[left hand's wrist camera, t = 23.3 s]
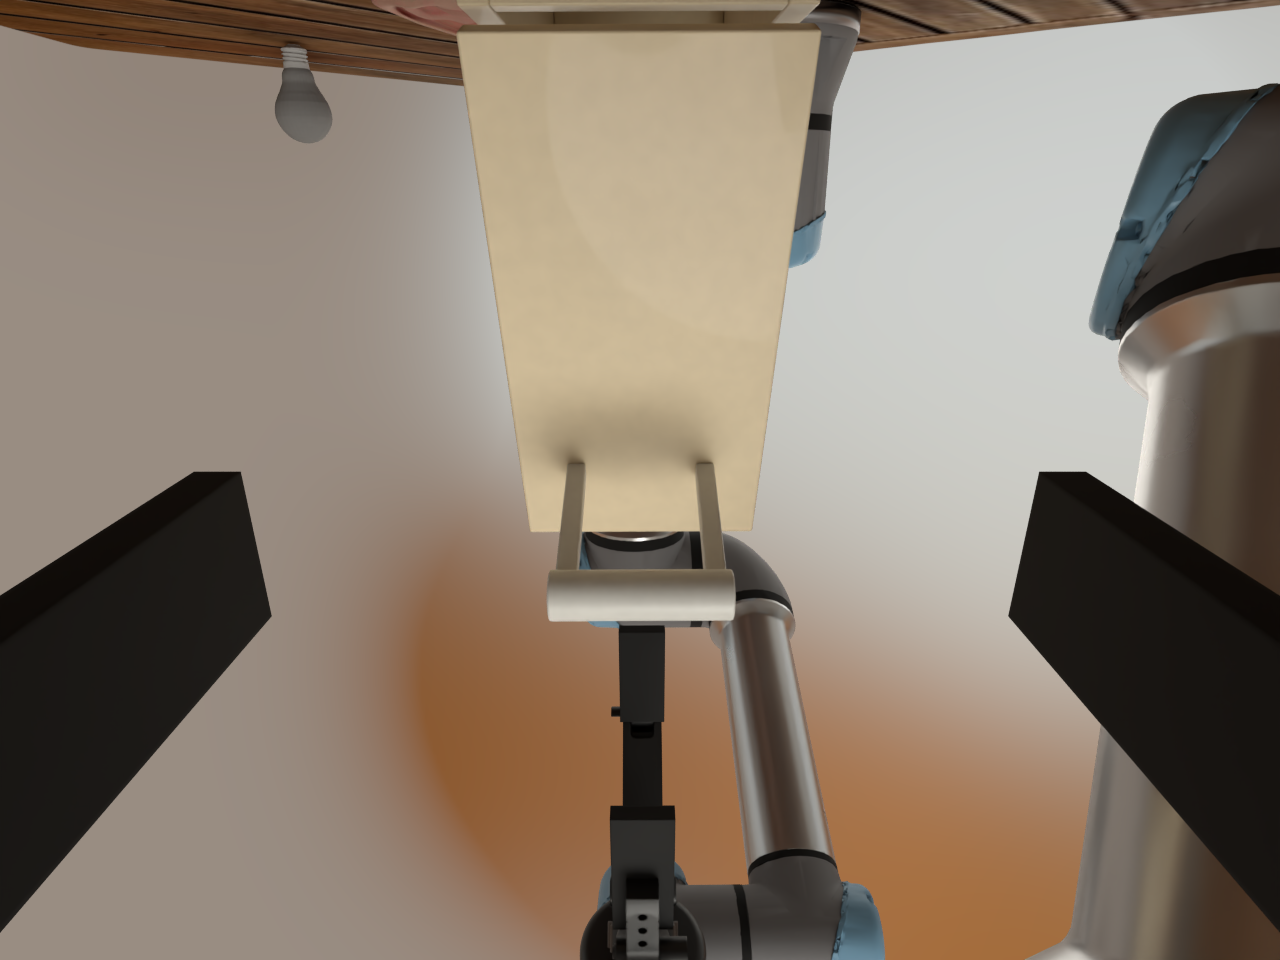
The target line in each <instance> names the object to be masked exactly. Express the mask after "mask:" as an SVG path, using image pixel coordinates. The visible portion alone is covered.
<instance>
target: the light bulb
mask: <svg viewBox="0 0 1280 960" xmlns="http://www.w3.org/2000/svg"><path fill="white" fill-rule="evenodd" d="M281 51H283V53H282V54H283V55H284V57H282V58H283V59H284V62H283V65H284V70H283V72H282V86H281V89H280V92H279V94H278V97H277V100H276V103H275V115H276V119H277V121H278V123H279V125H280V126H281V128H282V129H283V130H284V131H285V132H286V133H287V134H288V135H289V136H290V137H291V138H293V139H295V140H297V141H299V142H303V143H314V142H318V141H320V140H322V139H323V138H324V137H325V136H326V135H327V134H328V132H329V130H330V128H331V125H332V114H331V110H330V107H329V105H328V103H327V101H326V100H325V98H324V97H323V95H322V94H321V92H320V91H319V89H318V87H317V86H316V84H315V81H314V77H313V74H312V73H311V71H310V68H309V64H308V63H307V62H308V60H306V58H307V56H306V55H305V54H307V50H306V49H304V48H302V47H300V46H299V45H297V44H287V45H286V46H284V47H283V48H281Z"/></svg>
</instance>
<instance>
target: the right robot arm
mask: <svg viewBox="0 0 1280 960" xmlns="http://www.w3.org/2000/svg"><path fill="white" fill-rule="evenodd" d="M860 20H861V11H860V10H859V9H858V8H856V7H854V6H852V5H849V4H845V3H840V2H834V1H826V0H821V1H820V4H819V5H818V6H816V7H815V8H814V9H813V10H812V11H811V12H810V13H809V14H808V15H807V16H806V17H805V18H804V19H803V20H802V21H801V22H800V23H815V24H816V25H817V26H818V27H819V28H820V29H821V39H820V46H819V54H818V61H817V68H816V75H815V82H814V89H813V97H812V104H811V111H810V118H809V125H808V132H807V140H806V147H805V154H804V161H803V168H802V175H801V182H800V190H799V197H798V204H797V211H796V218H795V225H794V233H793V240H792V247H791V254H790V261H789V268H792V267H796V266H799V265H802V264H804V263H806V262H808V261H810V260H811V259H812V258H813V257H814V256H815V255H816V254H817V252H818V250H819V246H820V241H821V233H822V226H823V219H824V218H825V216H826V211H825V198H826V185H827V173H828V160H829V147H830V135H831V121H832V111H833V105H834V101H835V98H836V96H837V93H838V90H839V88H840V85H841V82H842V79H843V77H844V74H845V71H846V69H847V66H848V63H849V61H850V58H851V55H852V53H853V50H854V47H855V45H856V42H857V38H858V35H859V31H860ZM722 537H723V545H724V554H725V562H726V569H731V570H732V571H733V574H734V579H735V591H736V607H735V616H734V619H733V620H731V621H588V622H589V623H590V624H592V625H594V626H597V627H614V628H619V676H620V707H612V708H611V716H612V717H620V722H623V806H611V807H610V842H611V866H610V867H609V868H608V870H607V871H606V872H605V874H604V876H603V878H602V881H601V884H600V890H599V898H598V908H597V911H596V913H595V914H594V915H593V916H592V918H591V919H590V921H589V922H588V924H587V926H586V928H585V931H584V933H583V937H582V941H581V946H580V960H885V949H884V939H883V932H882V926H881V921H880V917H879V913H878V910H877V907H876V906H875V905H874V902H873V898H872V896H871V894H870V892H869V891H868V890H867V889H866V888H865V887H864V886H862V885H860V884H851V883H849V882H848V881H846V882H841V880H840V877H839V874H838V870H837V866H836V861H835V857H834V852H833V847H832V842H831V837H830V833H829V828H828V823H827V818H826V813H825V809H824V804H823V799H822V794H821V789H820V784H819V780H818V775H817V770H816V765H815V760H814V755H813V751H812V746H811V741H810V736H809V731H808V727H807V722H806V717H805V712H804V707H803V702H802V698H801V693H800V688H799V683H798V678H797V674H796V669H795V664H794V659H793V654H792V650H791V645H790V639H791V637H792V636H793V634H794V631H795V620H794V615H793V611H792V607H791V602H790V600H789V597H788V595H787V593H786V591H785V589H784V587H783V585H782V583H781V582H780V580H779V578H778V577H777V575H776V574H775V573H774V571H773V570H772V569H771V568H770V566H769V565H768V564H767V563H766V562H765V561H764V560H763V559H762V558H761V557H760V556H759V555H758V554H757V553H756V552H755V551H754V550H753V549H751V548H750V547H749V546H747V545H746V544H745V543H743V542H741V541H740V540H738V539H736V538H734V537H732V536H729V535H727V534H724V533H722ZM628 569H703V561H702V549H701V538H700V531H645V532H582V538H581V551H580V564H579V570H628ZM665 627H707V628H709V630H710V636H711V639H712V641H713V642H714V644H715V645H716V646H717V647H718V648H720V649H721V655H722V663H723V672H724V680H725V689H726V697H727V705H728V714H729V722H730V731H731V739H732V747H733V756H734V764H735V773H736V781H737V789H738V798H739V806H740V815H741V823H742V831H743V840H744V848H745V856H746V865H747V873H748V878H749V885H740V884H739V885H688V884H687V882H686V878H685V875H684V873H683V871H682V869H681V868H680V866H679V865H678V864H677V863H676V862H675V806H662V733H661V722H664V679H665V678H664V677H665Z"/></svg>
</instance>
